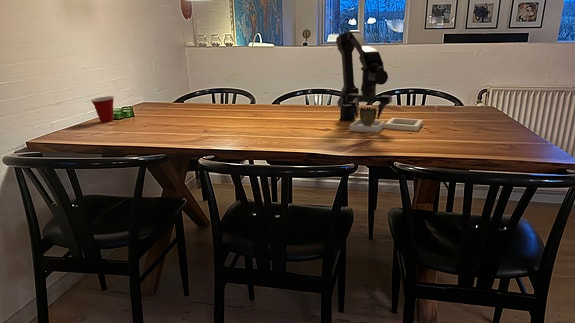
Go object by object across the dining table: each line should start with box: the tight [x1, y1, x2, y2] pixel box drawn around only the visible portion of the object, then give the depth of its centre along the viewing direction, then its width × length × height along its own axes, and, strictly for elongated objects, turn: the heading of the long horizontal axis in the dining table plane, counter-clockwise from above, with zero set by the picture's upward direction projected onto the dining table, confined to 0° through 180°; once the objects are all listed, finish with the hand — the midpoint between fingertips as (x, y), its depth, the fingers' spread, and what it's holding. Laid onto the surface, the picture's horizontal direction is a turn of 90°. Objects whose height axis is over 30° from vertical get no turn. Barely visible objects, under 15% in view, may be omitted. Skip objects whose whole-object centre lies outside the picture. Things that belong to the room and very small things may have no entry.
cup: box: [359, 106, 378, 126], centre depth 170 cm, size 8×7×8 cm
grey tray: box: [348, 118, 386, 134], centre depth 171 cm, size 12×12×2 cm
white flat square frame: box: [384, 117, 423, 132], centre depth 174 cm, size 14×14×2 cm
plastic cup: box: [90, 95, 115, 124], centre depth 197 cm, size 11×11×12 cm
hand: (367, 118), depth 170 cm, fingers open, 9 cm apart
